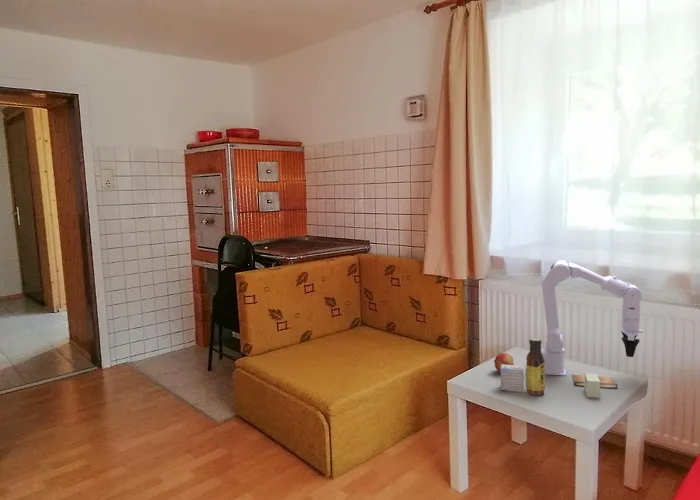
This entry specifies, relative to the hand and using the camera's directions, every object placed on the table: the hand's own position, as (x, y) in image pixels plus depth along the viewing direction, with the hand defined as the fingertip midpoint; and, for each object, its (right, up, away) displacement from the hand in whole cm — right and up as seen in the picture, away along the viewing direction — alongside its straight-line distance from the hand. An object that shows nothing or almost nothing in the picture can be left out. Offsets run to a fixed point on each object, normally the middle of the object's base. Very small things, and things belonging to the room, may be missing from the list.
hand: (629, 353), depth 187 cm
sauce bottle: (-37, -13, -6) cm, 40 cm away
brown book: (-13, -11, 0) cm, 17 cm away
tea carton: (-18, -13, -9) cm, 24 cm away
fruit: (-43, -11, +13) cm, 46 cm away
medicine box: (-44, -13, -2) cm, 46 cm away
